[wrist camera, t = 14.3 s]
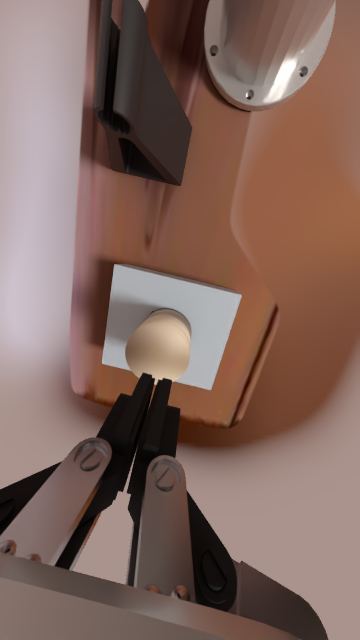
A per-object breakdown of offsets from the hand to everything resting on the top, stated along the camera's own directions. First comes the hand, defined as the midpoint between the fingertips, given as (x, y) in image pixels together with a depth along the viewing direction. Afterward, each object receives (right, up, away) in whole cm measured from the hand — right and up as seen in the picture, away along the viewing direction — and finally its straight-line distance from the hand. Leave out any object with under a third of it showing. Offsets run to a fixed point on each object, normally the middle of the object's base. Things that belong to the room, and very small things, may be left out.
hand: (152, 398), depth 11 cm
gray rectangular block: (0, +4, +20) cm, 20 cm away
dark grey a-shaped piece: (-2, +25, +14) cm, 29 cm away
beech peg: (0, +4, +19) cm, 19 cm away
